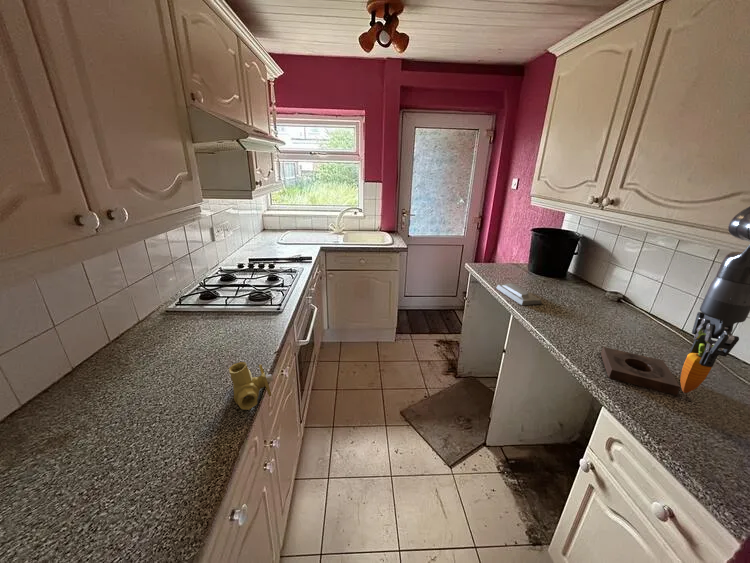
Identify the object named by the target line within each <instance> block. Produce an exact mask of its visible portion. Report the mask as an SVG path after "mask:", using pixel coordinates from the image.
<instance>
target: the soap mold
mask: <svg viewBox="0 0 750 563" xmlns="http://www.w3.org/2000/svg"><path fill="white" fill-rule="evenodd" d="M495 289H496V290H498V291H500V292H501V293H503V295H505V296H507V297H509V298H510V299H511V300H513V301H514V302H516V303H517V304H519V305H520V306H530V305H541V304H542V299H541V298H539V297H537V296H535V295H534V294H532V293H530V292H529V291H528V290H527V289H524V288H523V287H521V286H519V284H516V283H513V282H508V283H501V284H499V283H498V284H497V286H496V288H495Z"/></svg>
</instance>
